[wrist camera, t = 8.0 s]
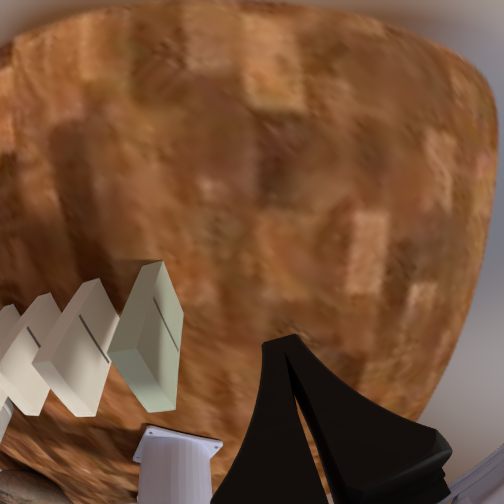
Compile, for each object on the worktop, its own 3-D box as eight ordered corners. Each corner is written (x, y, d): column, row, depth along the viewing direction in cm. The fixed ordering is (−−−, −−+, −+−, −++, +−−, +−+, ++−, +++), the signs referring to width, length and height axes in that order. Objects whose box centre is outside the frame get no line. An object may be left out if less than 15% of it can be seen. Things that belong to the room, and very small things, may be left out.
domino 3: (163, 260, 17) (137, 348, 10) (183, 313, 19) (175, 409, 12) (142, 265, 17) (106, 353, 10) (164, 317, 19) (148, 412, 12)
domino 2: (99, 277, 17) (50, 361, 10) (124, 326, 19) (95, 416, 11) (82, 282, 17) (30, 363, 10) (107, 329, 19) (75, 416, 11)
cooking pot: (26, 484, 33) (18, 522, 22) (-23, 440, 26) (-39, 483, 15) (113, 507, 36) (110, 553, 24) (65, 470, 28) (53, 530, 17)
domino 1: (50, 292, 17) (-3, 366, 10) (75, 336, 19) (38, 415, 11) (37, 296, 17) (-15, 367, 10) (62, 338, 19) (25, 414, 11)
